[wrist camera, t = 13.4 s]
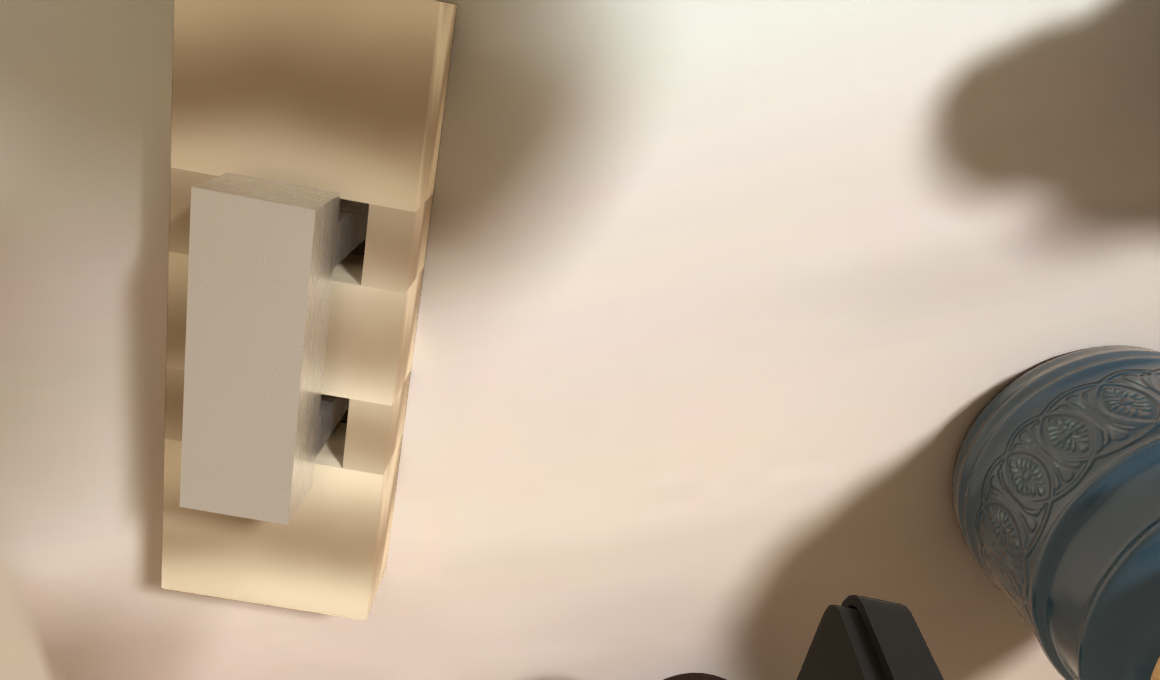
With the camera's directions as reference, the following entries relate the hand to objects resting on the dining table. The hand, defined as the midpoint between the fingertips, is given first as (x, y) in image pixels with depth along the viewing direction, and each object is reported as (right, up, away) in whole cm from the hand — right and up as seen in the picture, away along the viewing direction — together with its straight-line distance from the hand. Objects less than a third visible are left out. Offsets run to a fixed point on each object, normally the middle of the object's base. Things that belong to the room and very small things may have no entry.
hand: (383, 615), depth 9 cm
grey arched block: (-10, +5, +28) cm, 30 cm away
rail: (-9, +5, +28) cm, 30 cm away
